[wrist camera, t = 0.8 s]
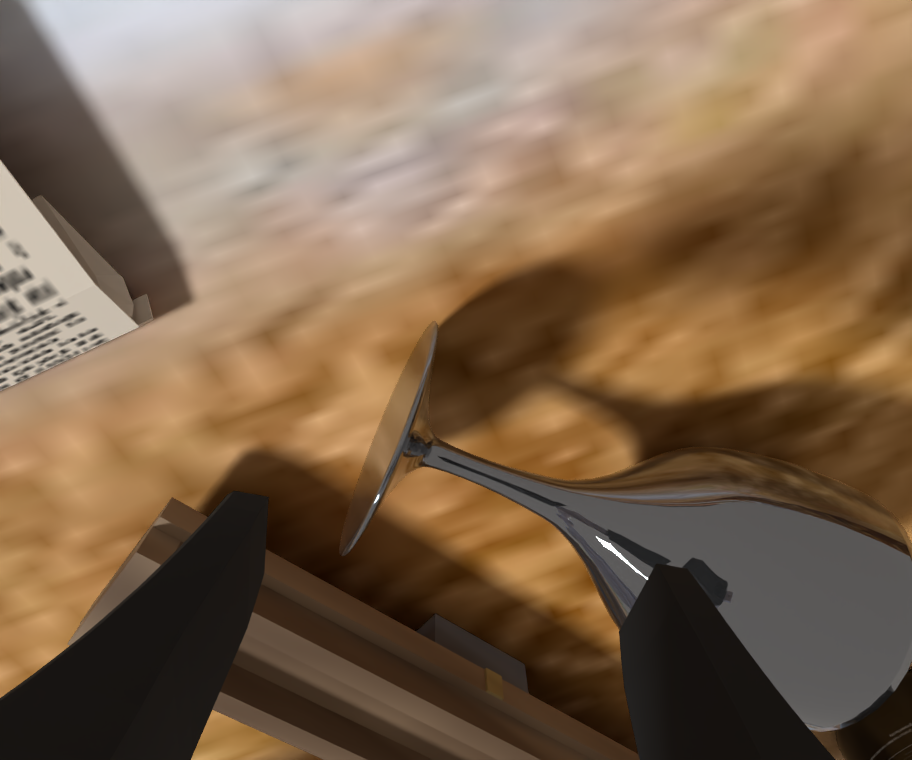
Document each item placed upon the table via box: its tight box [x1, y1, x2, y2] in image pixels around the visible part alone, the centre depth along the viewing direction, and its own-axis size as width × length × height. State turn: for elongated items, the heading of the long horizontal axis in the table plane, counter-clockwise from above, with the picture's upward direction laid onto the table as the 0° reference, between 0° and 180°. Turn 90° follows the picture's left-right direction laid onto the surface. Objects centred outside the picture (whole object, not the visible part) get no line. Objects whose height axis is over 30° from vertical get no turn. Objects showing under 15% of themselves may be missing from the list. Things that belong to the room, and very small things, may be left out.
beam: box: [68, 498, 640, 760], centre depth 26 cm, size 6×28×4 cm, turn 51°
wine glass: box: [339, 321, 912, 732], centre depth 19 cm, size 8×8×15 cm
